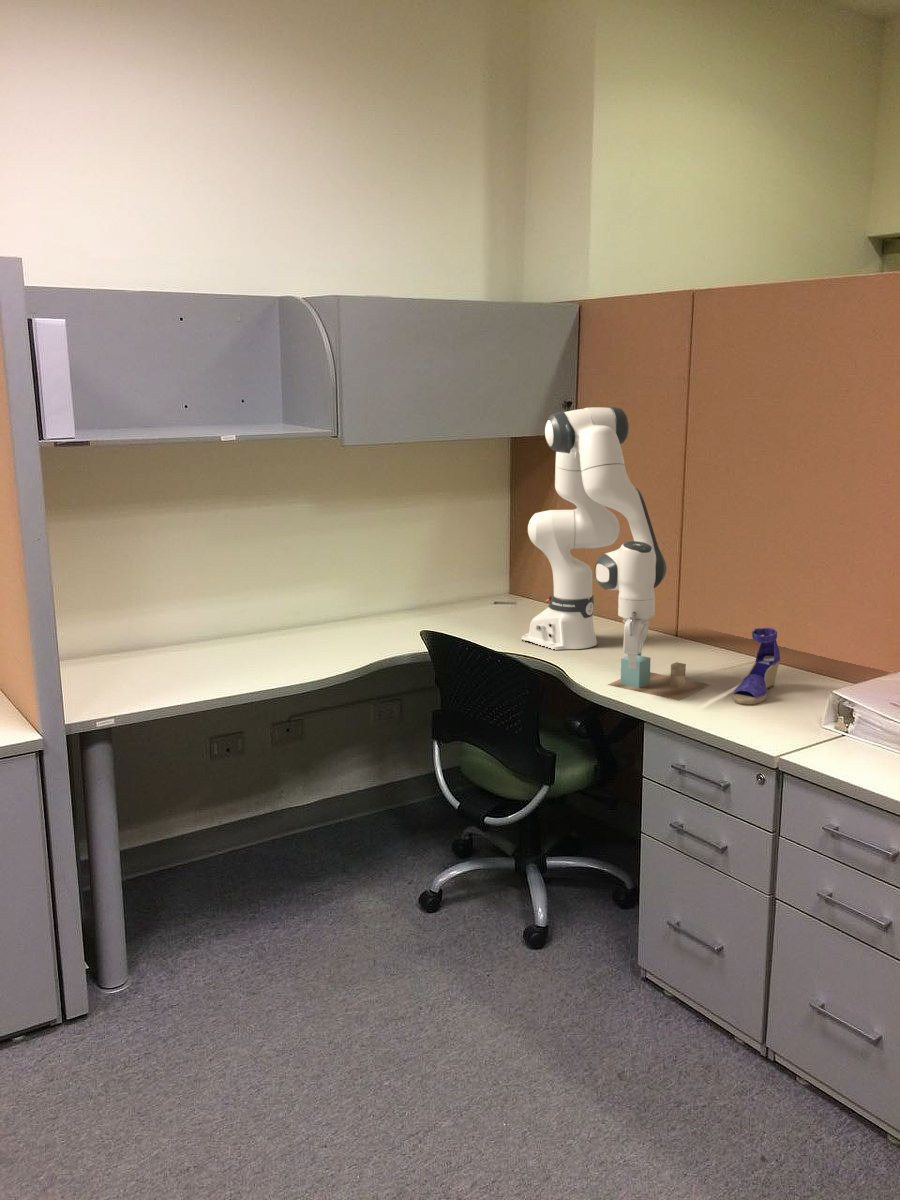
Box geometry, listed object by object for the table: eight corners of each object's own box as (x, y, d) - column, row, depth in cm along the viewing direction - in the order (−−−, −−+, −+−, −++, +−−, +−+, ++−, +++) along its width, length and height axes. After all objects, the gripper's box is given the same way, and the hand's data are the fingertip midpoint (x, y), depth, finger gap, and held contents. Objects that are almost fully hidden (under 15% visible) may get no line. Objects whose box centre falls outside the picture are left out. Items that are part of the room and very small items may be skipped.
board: (607, 687, 249) (607, 684, 249) (640, 673, 260) (640, 670, 260) (679, 703, 236) (679, 700, 236) (711, 687, 247) (711, 684, 247)
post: (670, 685, 247) (671, 664, 246) (675, 683, 249) (676, 662, 247) (679, 687, 245) (680, 666, 244) (685, 685, 247) (685, 663, 246)
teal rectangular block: (620, 684, 249) (621, 658, 247) (631, 679, 253) (632, 654, 251) (638, 688, 245) (639, 662, 244) (649, 683, 249) (650, 657, 248)
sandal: (720, 700, 238) (723, 639, 235) (761, 681, 252) (764, 624, 248) (751, 707, 232) (755, 645, 229) (792, 688, 246) (795, 629, 243)
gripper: (644, 618, 234) (643, 675, 237) (653, 601, 253) (652, 654, 256) (617, 617, 236) (616, 673, 238) (628, 600, 255) (627, 652, 258)
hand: (635, 663), depth 247 cm, fingers open, 8 cm apart
